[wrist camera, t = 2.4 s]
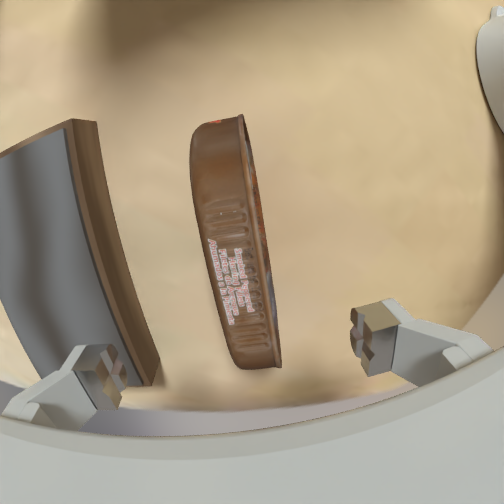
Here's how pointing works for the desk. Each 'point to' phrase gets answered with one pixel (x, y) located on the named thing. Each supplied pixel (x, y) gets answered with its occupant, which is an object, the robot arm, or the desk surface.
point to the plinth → (67, 254)
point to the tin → (235, 241)
